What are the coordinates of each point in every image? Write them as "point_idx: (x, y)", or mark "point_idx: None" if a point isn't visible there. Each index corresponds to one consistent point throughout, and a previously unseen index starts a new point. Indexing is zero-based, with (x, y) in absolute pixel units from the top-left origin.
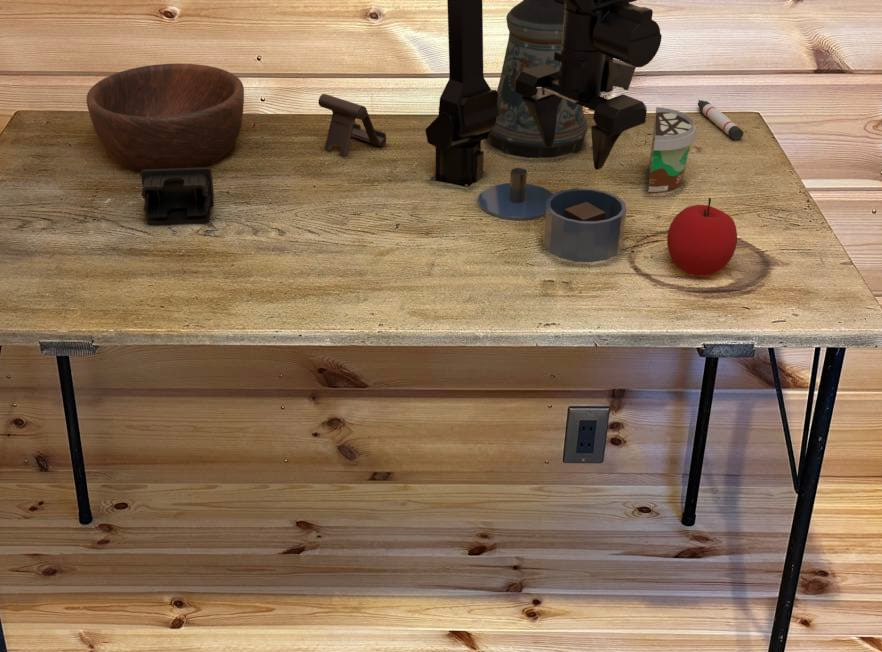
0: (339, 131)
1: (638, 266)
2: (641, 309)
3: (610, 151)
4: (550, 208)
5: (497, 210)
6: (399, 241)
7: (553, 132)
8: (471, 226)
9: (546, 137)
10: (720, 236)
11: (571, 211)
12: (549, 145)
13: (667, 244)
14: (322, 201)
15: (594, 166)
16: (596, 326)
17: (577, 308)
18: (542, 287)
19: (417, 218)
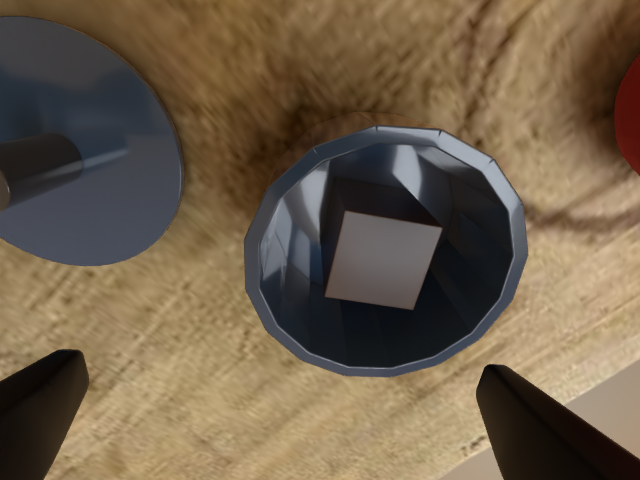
0: None
1: (524, 196)
2: (597, 326)
3: (634, 456)
4: (315, 358)
5: (90, 249)
6: (89, 430)
7: (4, 433)
8: (110, 310)
9: (42, 466)
10: None
11: (351, 295)
12: (80, 381)
13: (636, 160)
14: None
15: (484, 417)
16: None
17: None
18: (401, 381)
19: (9, 358)
